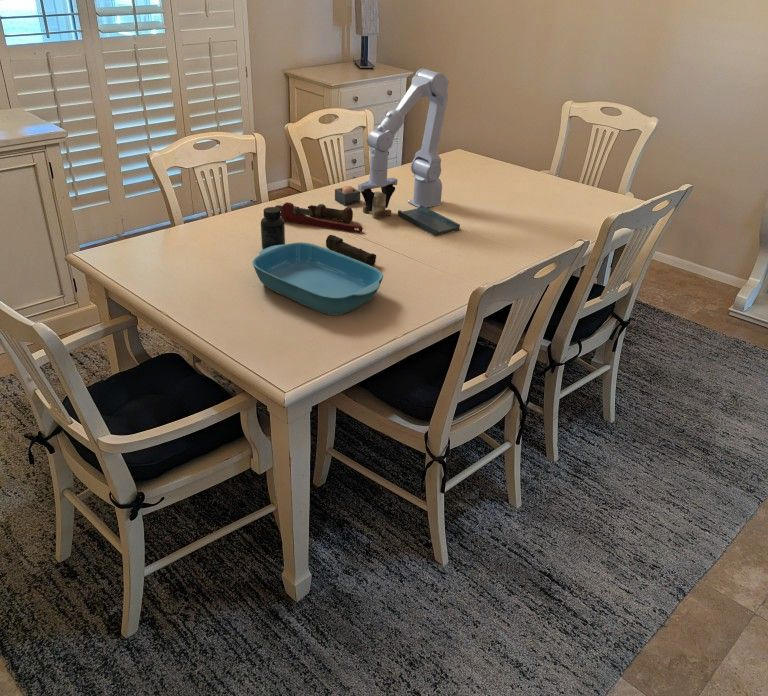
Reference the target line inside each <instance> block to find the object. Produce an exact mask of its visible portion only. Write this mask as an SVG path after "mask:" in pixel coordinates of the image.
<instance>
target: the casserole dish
mask: <svg viewBox="0 0 768 696" xmlns="http://www.w3.org/2000/svg"><path fill="white" fill-rule="evenodd" d="M252 265H253V268H254V270H255V273H256V276H257V277H258V279H259V281H260V282H261V283H262V285H264V286H265V287H266V288H268V289H270V290H271V291H273V292H275V293H277V294H280V295H281V296H283V297H286V298H288V299H291V300H292V301H295V302H298V303H299V304H301V305H304V306H305V307H308V308H310V309H313V310H315V311H318V312H321V313H323V314H326V315H330V316H340V315H344V314H348V313H349V312H351V311H353V310H354V309H356V308H358V307H360V306H362V305H364V304H365V303H367V302H368V301H371V299H373V298H374V297H375V296H376V294H377V292H378V290H380V287H381V283H382V281H383V279H384V274H383V272H381V270H379V269H378V268H376V267H374V266H370V265H368V264H365V263H363V262H360V261H358V260H355V259H353V258H350V257H348V256H345V255H343V254H341V253H337V252H334V251H332V250H330V249H328V248H327V247H324V246H320V245H317V244H313V243H310V242H291V243H285V245H276V246H271V247H268V248H266V249H264V250H263V249H262V250H260V251H259V253H258V256H255V258H253V260H252Z"/></svg>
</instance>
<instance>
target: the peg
mask: <svg viewBox="0 0 768 696" xmlns="http://www.w3.org/2000/svg"><path fill="white" fill-rule="evenodd" d="M373 192H374V193H375V194H374V197H373V203H372V211H369V212H368V214H369V215H371V216H373V217H374V213H375V212H379V211H384V210H386V208H385V207H386V195H385V194H383V193H382V191H379V190H378V191H373Z"/></svg>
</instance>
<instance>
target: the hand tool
mask: <svg viewBox="0 0 768 696" xmlns="http://www.w3.org/2000/svg"><path fill="white" fill-rule="evenodd" d="M325 245H326V246H325V247H326V249H329V250H332V251H334V252H337V253H339V254H342V255H345V256H347V257H350V258H353V259H355V260H358V261H360V262H363V263H365V264H368V265H370V266H372V267H374V266H375V264H376V260H377V255H376V254H375V253H370V252H368V251H365V250H364V249H362V248H358V247H356V246H353V245H352V244H348V243H347V242H345V241H344V240H343V238H341V237H339V236H337V235H333V234H329V235H327V237H326V239H325Z"/></svg>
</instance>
